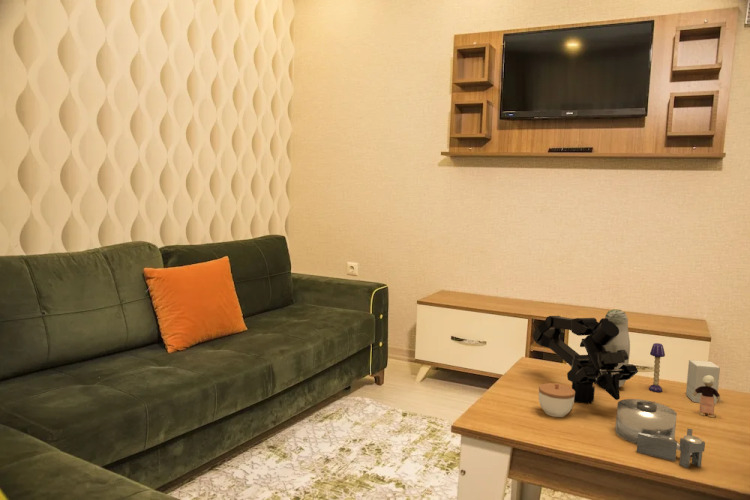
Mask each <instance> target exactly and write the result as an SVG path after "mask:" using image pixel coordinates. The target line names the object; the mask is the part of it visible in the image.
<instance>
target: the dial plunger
mask: <svg viewBox="0 0 750 500" xmlns="http://www.w3.org/2000/svg"><path fill="white" fill-rule="evenodd" d="M668 439H670V440H674V441H677V440H676V439H673V438H668ZM676 451H679V452H681V448H680V442H677V449H676ZM693 455H694V453H690V458H692V457H693Z"/></svg>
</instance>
